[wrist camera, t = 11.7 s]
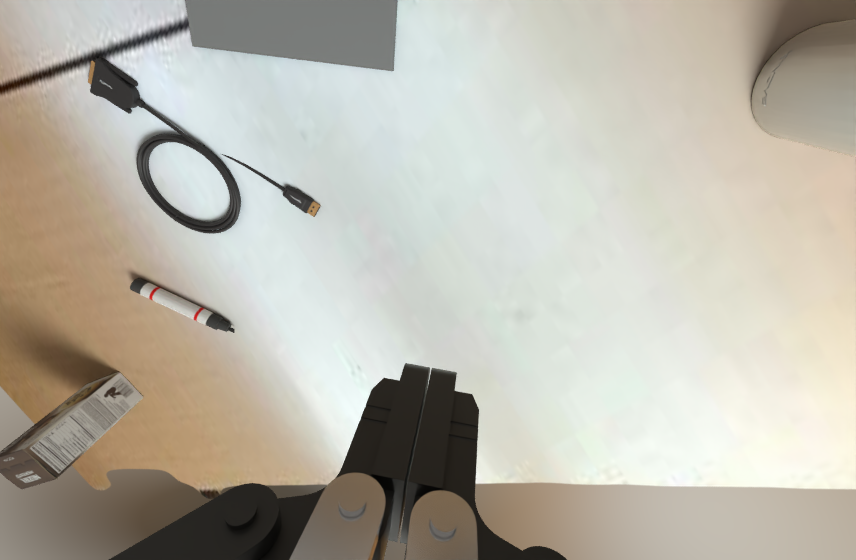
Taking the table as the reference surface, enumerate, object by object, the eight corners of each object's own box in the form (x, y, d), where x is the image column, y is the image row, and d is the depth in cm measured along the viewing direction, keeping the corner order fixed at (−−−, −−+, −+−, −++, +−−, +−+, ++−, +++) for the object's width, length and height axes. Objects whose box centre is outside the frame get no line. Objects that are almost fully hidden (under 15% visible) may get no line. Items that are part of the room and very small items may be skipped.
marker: (140, 286, 58) (129, 292, 56) (141, 275, 57) (130, 282, 55) (237, 331, 59) (230, 339, 58) (240, 322, 58) (232, 330, 57)
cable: (280, 280, 54) (274, 286, 53) (83, 157, 50) (72, 159, 48) (323, 203, 48) (318, 207, 47) (102, 53, 43) (90, 53, 42)
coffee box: (112, 408, 72) (20, 490, 58) (86, 382, 70) (-17, 462, 56) (145, 397, 70) (57, 481, 55) (119, 370, 67) (19, 450, 53)
